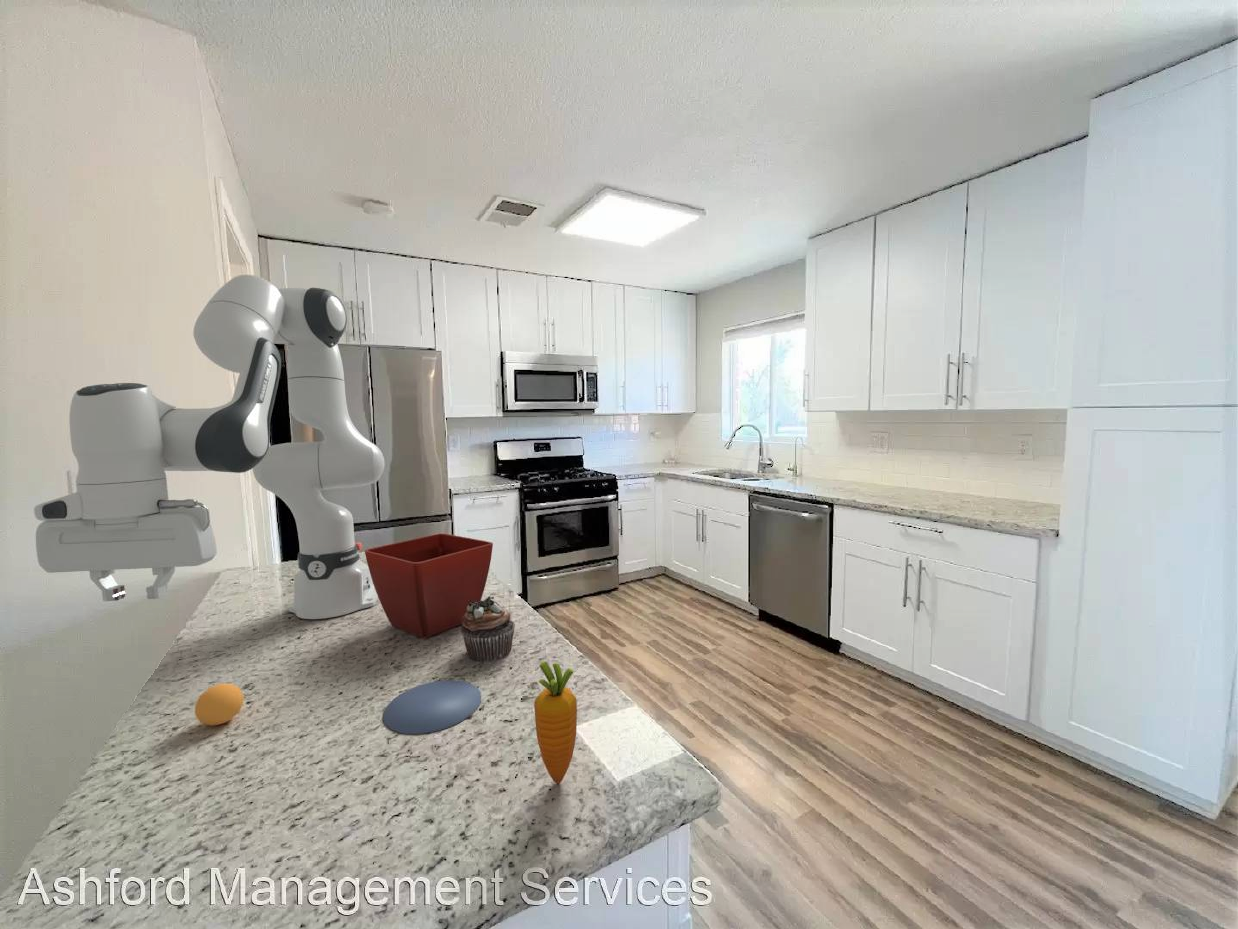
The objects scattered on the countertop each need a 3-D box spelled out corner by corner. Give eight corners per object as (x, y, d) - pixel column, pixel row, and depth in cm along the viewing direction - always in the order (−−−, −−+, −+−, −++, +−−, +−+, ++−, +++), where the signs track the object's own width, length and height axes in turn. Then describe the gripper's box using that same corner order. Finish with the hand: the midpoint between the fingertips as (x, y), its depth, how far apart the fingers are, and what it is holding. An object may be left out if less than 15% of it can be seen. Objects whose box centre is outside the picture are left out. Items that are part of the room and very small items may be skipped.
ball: (213, 712, 75) (210, 677, 75) (253, 709, 76) (250, 675, 76) (186, 735, 70) (183, 698, 70) (229, 732, 71) (225, 695, 70)
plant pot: (444, 600, 121) (441, 531, 120) (498, 616, 110) (495, 542, 109) (367, 627, 106) (362, 549, 104) (420, 650, 95) (415, 563, 93)
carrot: (587, 781, 60) (584, 661, 58) (555, 805, 56) (552, 678, 55) (559, 762, 63) (556, 648, 62) (528, 784, 60) (524, 663, 58)
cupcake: (480, 670, 87) (478, 614, 86) (453, 652, 94) (450, 600, 93) (526, 651, 94) (524, 599, 93) (497, 636, 101) (495, 587, 100)
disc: (400, 684, 83) (400, 683, 82) (487, 678, 84) (487, 677, 84) (368, 738, 69) (368, 737, 69) (472, 729, 70) (472, 728, 70)
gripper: (222, 495, 73) (230, 587, 74) (66, 500, 71) (78, 594, 72) (190, 502, 67) (200, 602, 68) (18, 508, 65) (32, 611, 66)
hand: (136, 598), depth 70 cm, fingers open, 4 cm apart
